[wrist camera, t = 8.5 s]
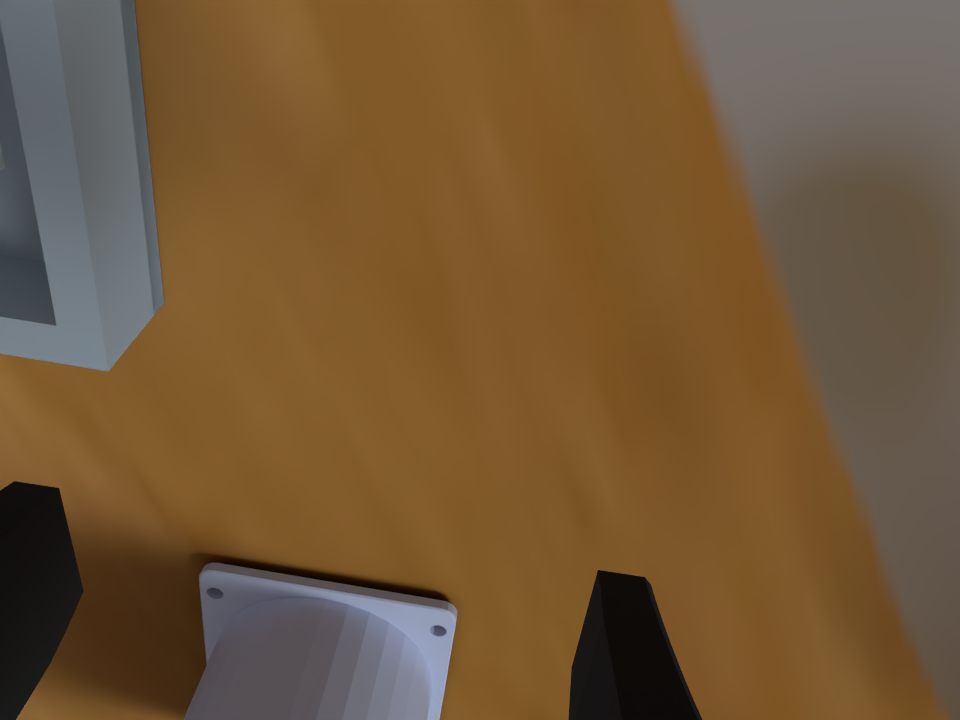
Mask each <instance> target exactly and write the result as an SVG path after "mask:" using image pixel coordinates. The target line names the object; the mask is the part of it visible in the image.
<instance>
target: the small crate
mask: <svg viewBox="0 0 960 720" xmlns="http://www.w3.org/2000/svg"><path fill="white" fill-rule="evenodd" d="M4 168H5V162H4V158H3V153H2V148H1V143H0V171H1V170H2V169H4Z"/></svg>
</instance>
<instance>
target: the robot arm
mask: <svg viewBox="0 0 960 720" xmlns="http://www.w3.org/2000/svg"><path fill="white" fill-rule="evenodd" d="M199 587H200V597H201V608H202V619H203V630H204V641H205V652H206V663H207V665H206V668H205V670H204V672H203V675H202V677H201V679H200V682H199V684H198V686H197V689H196V691H195V693H194V696H193V698H192V700H191V703H190V705H189V707H188V710H187V712H186V714H185V717H184V719H183V720H439V719H440V713H441V707H442V702H443V696H444V690H445V684H446V678H447V672H448V666H449V661H450V655H451V649H452V643H453V637H454V631H455V626H456V619H457V609H456V608H455V607H454V605H452V604H451V603H449V602H446V601H443V600H437V599H431V598H425V597H419V596H413V595H407V594H401V593H395V592H389V591H383V590H377V589H371V588H365V587H359V586H353V585H347V584H342V583H336V582H330V581H324V580H318V579H312V578H306V577H300V576H294V575H288V574H282V573H276V572H270V571H264V570H258V569H252V568H246V567H240V566H234V565H228V564H222V563H209V564H206V565H205V566H204V567H203V569H202V571H201V573H200V575H199ZM82 593H83V588H82V584H81V579H80V575H79V571H78V567H77V562H76V558H75V554H74V550H73V545H72V541H71V537H70V533H69V528H68V524H67V520H66V516H65V512H64V507H63V503H62V499H61V495H60V490H59V488H55V487H48V486H42V485H35V484H28V483H22V482H15V481H14V482H13V483H11V484H10V485H8V486H7V487H5V488H4V489H2V490H1V491H0V720H16V718H17V717H18V715H19V714H20V712H21V710H22V709H23V707H24V705H25V704H26V702H27V701H28V699H29V697H30V696H31V694H32V692H33V691H34V689H35V688H36V686H37V684H38V683H39V681H40V679H41V678H42V676H43V674H44V673H45V671H46V669H47V668H48V666H49V664H50V663H51V660H52V658H53V656H54V654H55V652H56V650H57V648H58V646H59V644H60V642H61V640H62V638H63V636H64V634H65V631H66V629H67V627H68V625H69V623H70V620H71V618H72V616H73V614H74V611H75V609H76V607H77V605H78V602H79V600H80V598H81V596H82ZM438 625H439V626H438ZM569 720H702V718H701V716H700V713H699V711H698V709H697V707H696V705H695V702H694V700H693V698H692V695H691V693H690V691H689V688H688V686H687V683H686V681H685V679H684V676H683V674H682V671H681V669H680V666H679V664H678V661H677V659H676V656H675V653H674V651H673V648H672V646H671V643H670V640H669V638H668V635H667V632H666V629H665V627H664V624H663V621H662V618H661V615H660V612H659V609H658V606H657V603H656V600H655V597H654V594H653V590H652V587H651V584H650V583H649V582H648V581H647V579H646V578H645V577H640V576H633V575H627V574H620V573H614V572H607V571H601V570H598V572H597V576H596V580H595V583H594V587H593V591H592V595H591V598H590V602H589V606H588V609H587V613H586V617H585V620H584V624H583V628H582V631H581V635H580V639H579V643H578V646H577V650H576V654H575V657H574V661H573V665H572V673H571V689H570V705H569Z"/></svg>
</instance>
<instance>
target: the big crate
mask: <svg viewBox="0 0 960 720" xmlns="http://www.w3.org/2000/svg"><path fill="white" fill-rule="evenodd" d="M0 143H1V148H2V153H3V158H4V162H5V168H4V169H2V170H1V171H0V354H6V355H12V356H18V357H24V358H31V359H37V360H43V361H49V362H55V363H61V364H67V365H73V366H79V367H85V368H91V369H97V370H103V371H109V370H110V369H111V367H112V366H113V365H114V364H115V363H116V361H117V360H118V359H119V358H120V356H121V355H122V354H123V353H124V351H125V350H126V349H127V348H128V347H129V345H130V344H131V343H132V342H133V340H134V339H135V338H136V337H137V335H138V334H139V333H140V332H141V331H142V329H143V328H144V327H145V326H146V324H147V323H148V322H149V321H150V319H151V318H152V317H153V316H154V315H155V313H156V312H157V311H158V310H159V308H160V307H161V306H162V305H163V304H164V298H163V288H162V278H161V268H160V258H159V247H158V237H157V227H156V217H155V207H154V197H153V187H152V177H151V166H150V156H149V146H148V136H147V126H146V116H145V106H144V96H143V86H142V75H141V65H140V55H139V45H138V35H137V25H136V15H135V5H134V0H0Z"/></svg>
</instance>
